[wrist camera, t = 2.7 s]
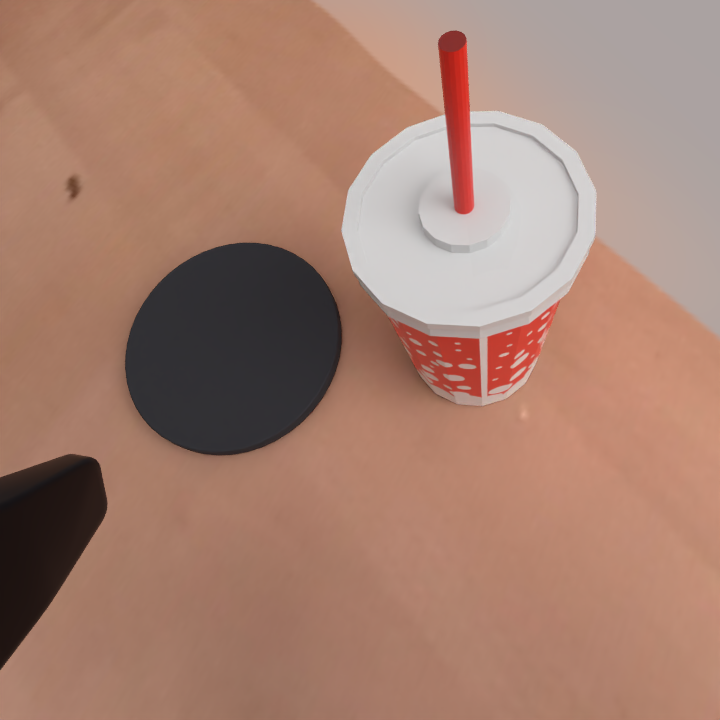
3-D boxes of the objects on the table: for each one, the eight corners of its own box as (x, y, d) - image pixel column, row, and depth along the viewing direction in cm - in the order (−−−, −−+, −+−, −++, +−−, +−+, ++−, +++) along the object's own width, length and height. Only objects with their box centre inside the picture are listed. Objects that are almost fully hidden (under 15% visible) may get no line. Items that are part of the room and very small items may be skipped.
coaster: (154, 490, 24) (146, 487, 23) (115, 297, 27) (108, 290, 27) (373, 403, 23) (370, 399, 23) (304, 218, 27) (300, 210, 26)
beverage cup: (545, 263, 24) (606, -122, 11) (573, 417, 22) (691, 157, 9) (388, 286, 25) (277, -45, 12) (399, 434, 23) (278, 223, 10)
